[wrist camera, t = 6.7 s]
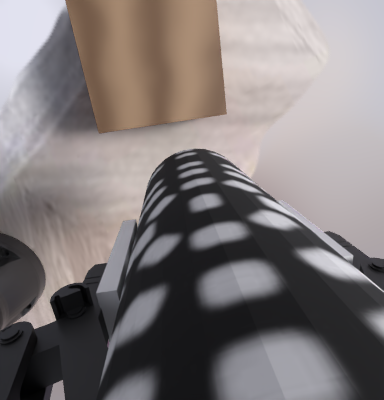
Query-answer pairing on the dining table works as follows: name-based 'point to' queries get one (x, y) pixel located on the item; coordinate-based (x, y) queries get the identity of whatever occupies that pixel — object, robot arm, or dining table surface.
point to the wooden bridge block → (149, 60)
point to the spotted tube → (238, 299)
